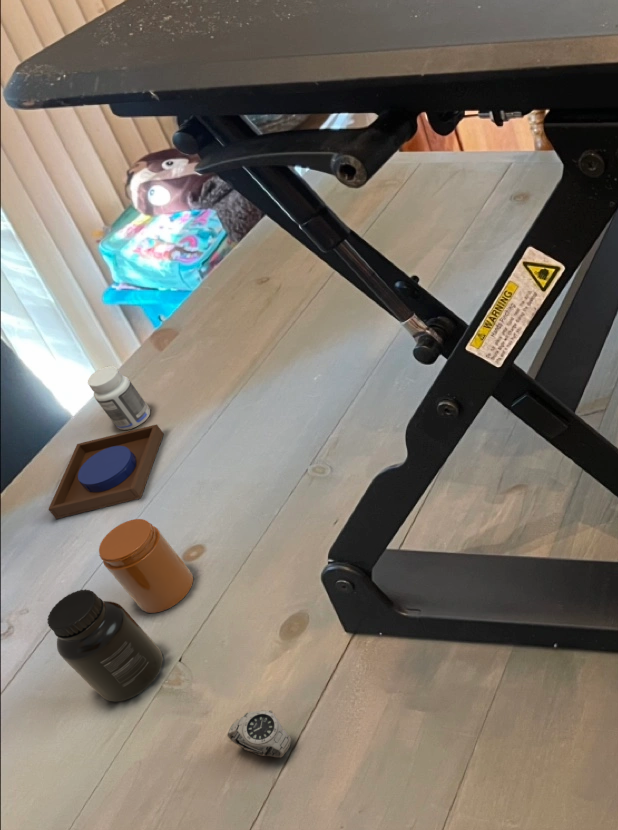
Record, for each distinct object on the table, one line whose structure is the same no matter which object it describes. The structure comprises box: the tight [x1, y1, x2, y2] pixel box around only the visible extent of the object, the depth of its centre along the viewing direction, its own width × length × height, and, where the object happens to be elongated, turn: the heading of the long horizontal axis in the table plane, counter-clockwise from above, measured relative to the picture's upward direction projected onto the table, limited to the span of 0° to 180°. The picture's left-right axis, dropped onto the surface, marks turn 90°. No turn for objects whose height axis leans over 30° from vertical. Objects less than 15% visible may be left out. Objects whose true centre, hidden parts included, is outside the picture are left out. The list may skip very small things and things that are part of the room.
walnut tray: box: [47, 424, 164, 520], centre depth 140 cm, size 11×12×2 cm
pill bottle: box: [87, 365, 151, 431], centre depth 147 cm, size 5×5×8 cm
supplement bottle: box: [47, 588, 164, 702], centre depth 110 cm, size 7×7×12 cm
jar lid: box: [78, 446, 136, 492], centre depth 140 cm, size 7×7×2 cm
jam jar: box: [98, 518, 194, 614], centre depth 120 cm, size 6×6×9 cm
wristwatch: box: [227, 710, 292, 759], centre depth 103 cm, size 4×6×5 cm, turn 74°
